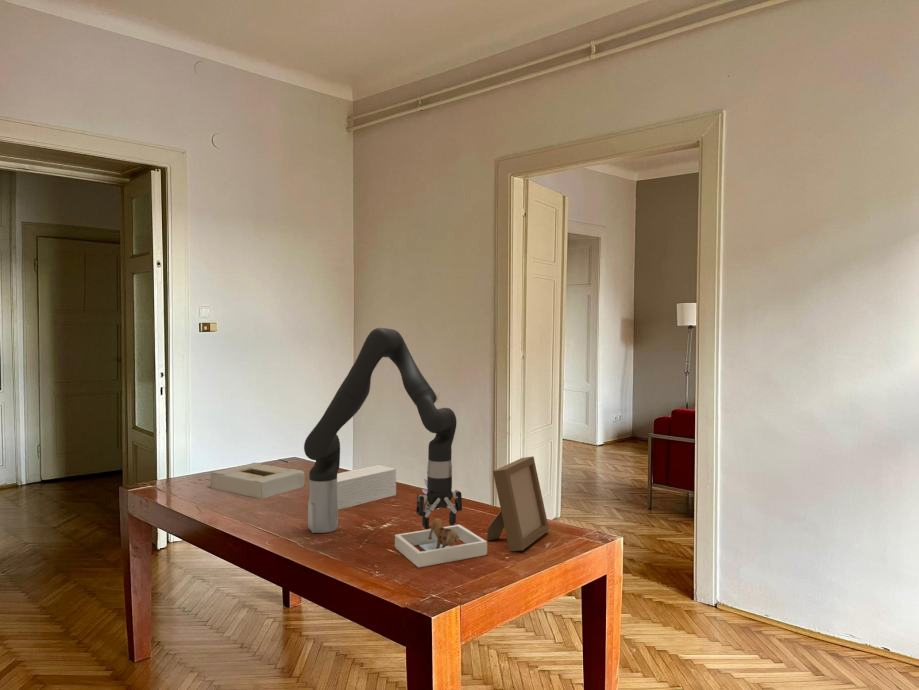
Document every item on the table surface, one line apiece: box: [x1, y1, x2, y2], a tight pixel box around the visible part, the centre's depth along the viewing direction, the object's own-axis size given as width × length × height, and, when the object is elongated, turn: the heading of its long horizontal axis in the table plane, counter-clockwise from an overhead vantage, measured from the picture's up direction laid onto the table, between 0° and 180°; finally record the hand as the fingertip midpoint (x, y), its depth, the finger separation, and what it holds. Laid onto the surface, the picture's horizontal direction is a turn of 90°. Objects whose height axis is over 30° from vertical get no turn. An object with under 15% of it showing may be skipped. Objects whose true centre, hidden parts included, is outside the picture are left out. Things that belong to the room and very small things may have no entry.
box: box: [210, 462, 306, 499], centre depth 280 cm, size 23×8×32 cm
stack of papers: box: [337, 464, 397, 511], centre depth 259 cm, size 32×11×11 cm, turn 136°
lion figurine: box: [428, 517, 460, 549], centre depth 203 cm, size 15×5×9 cm, turn 33°
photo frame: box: [485, 456, 550, 552], centre depth 213 cm, size 15×22×25 cm
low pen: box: [394, 524, 488, 568], centre depth 203 cm, size 22×18×4 cm
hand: (439, 526), depth 203 cm, fingers open, 8 cm apart
